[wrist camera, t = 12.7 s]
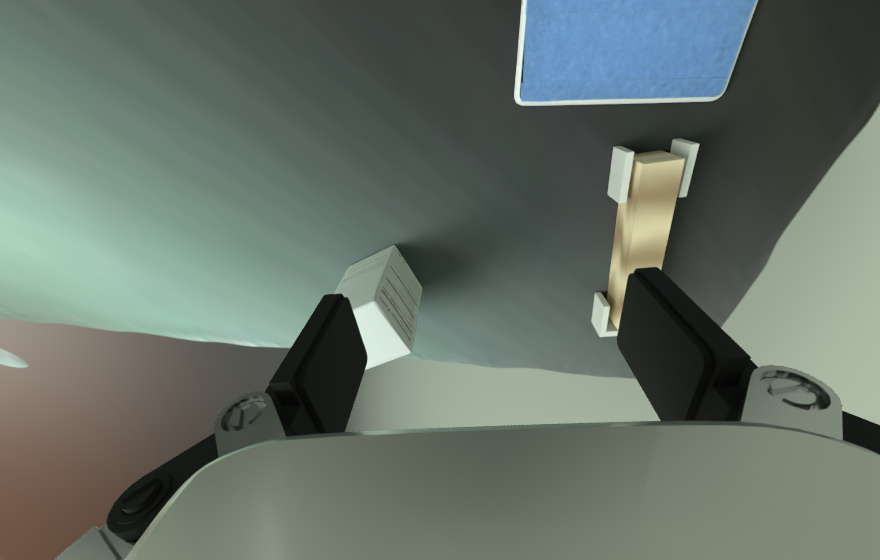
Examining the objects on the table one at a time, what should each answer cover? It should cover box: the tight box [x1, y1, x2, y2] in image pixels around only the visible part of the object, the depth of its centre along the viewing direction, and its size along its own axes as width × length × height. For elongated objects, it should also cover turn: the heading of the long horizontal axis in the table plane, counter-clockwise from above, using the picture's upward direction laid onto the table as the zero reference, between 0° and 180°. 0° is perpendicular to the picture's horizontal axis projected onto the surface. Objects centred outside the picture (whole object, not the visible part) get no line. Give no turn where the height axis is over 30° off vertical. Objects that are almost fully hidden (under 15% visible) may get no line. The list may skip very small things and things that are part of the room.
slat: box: [607, 150, 685, 330], centre depth 38 cm, size 20×4×4 cm, turn 9°
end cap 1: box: [591, 292, 618, 337], centre depth 43 cm, size 5×6×3 cm
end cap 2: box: [608, 139, 699, 204], centre depth 34 cm, size 5×6×3 cm
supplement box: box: [334, 245, 423, 370], centre depth 39 cm, size 7×7×13 cm
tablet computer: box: [514, 0, 758, 106], centre depth 29 cm, size 19×13×1 cm, turn 91°
